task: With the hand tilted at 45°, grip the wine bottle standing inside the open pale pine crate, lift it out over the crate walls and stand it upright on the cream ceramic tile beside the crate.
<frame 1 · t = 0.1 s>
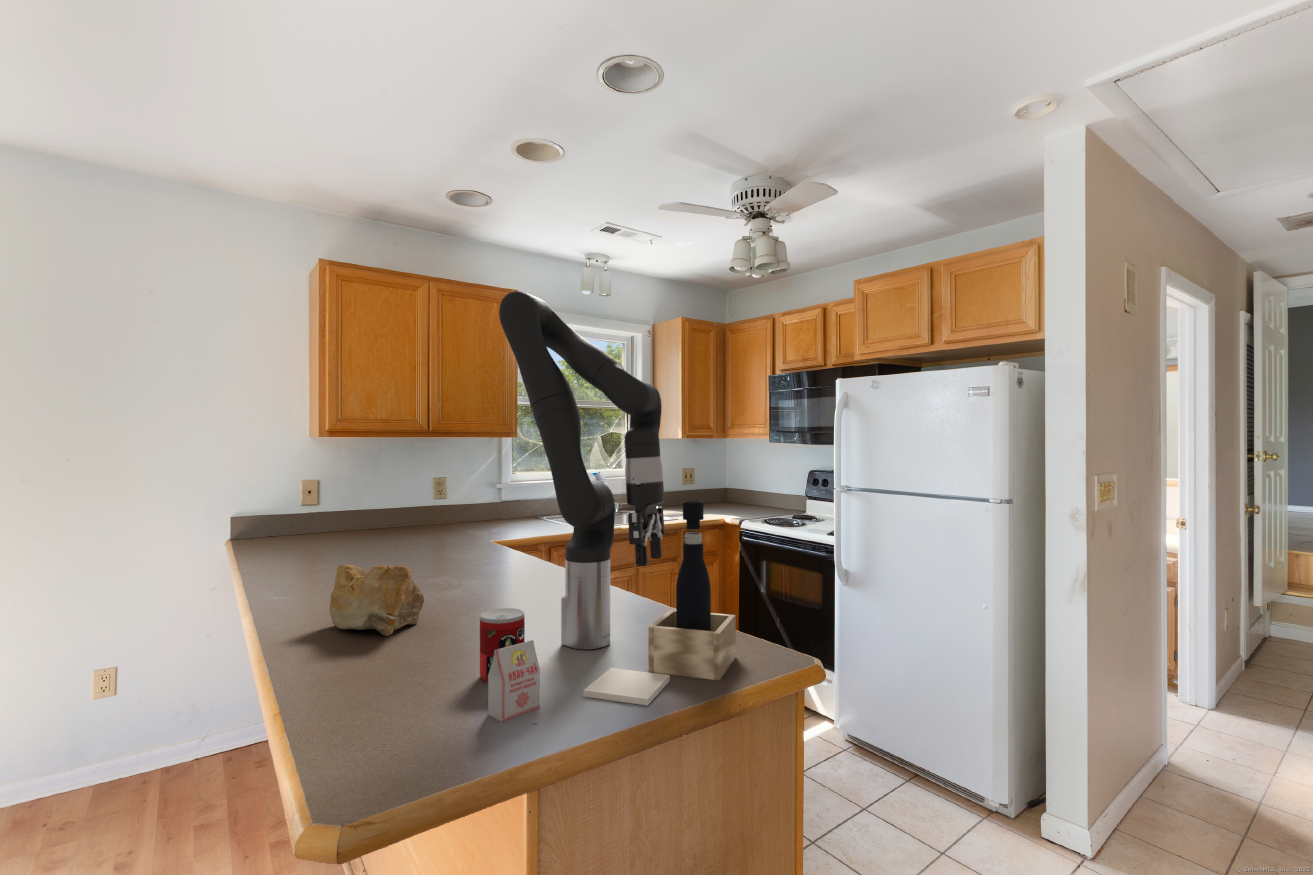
hand: (649, 561, 125), 17 cm above the counter, tool pointing down, fingers open, 8 cm apart
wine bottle: (693, 665, 117), resting in pine crate
pine crate: (693, 664, 117), on the counter
cream tile: (628, 688, 105), on the counter
rough brown rock: (386, 628, 142), on the counter
white paper bag: (514, 712, 96), on the counter
canned food: (502, 677, 111), on the counter
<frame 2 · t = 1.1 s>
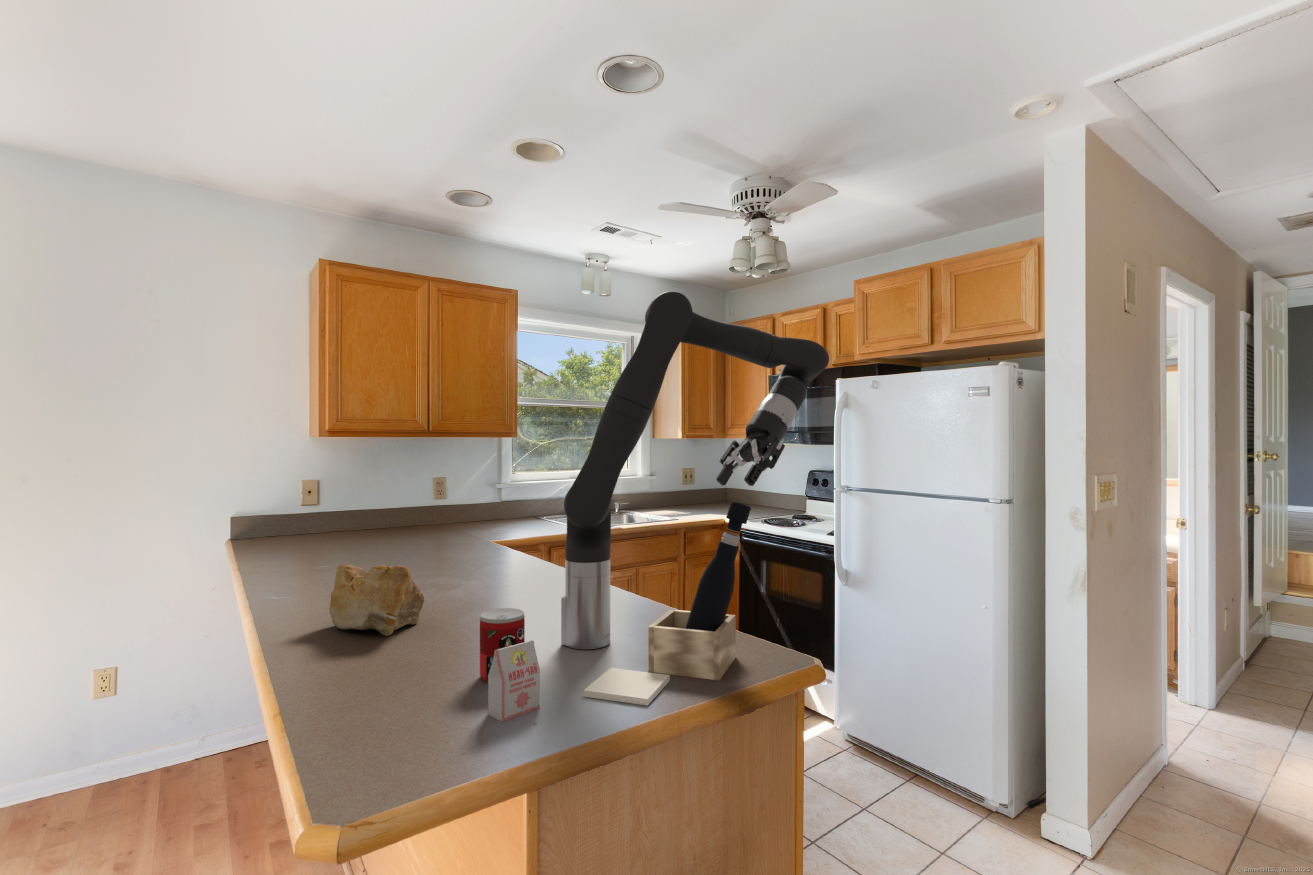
hand: (733, 483, 123), 33 cm above the counter, tool tilted 40°, fingers open, 8 cm apart
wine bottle: (693, 660, 117), point 1 cm above the counter, touching pine crate
everything else where it was.
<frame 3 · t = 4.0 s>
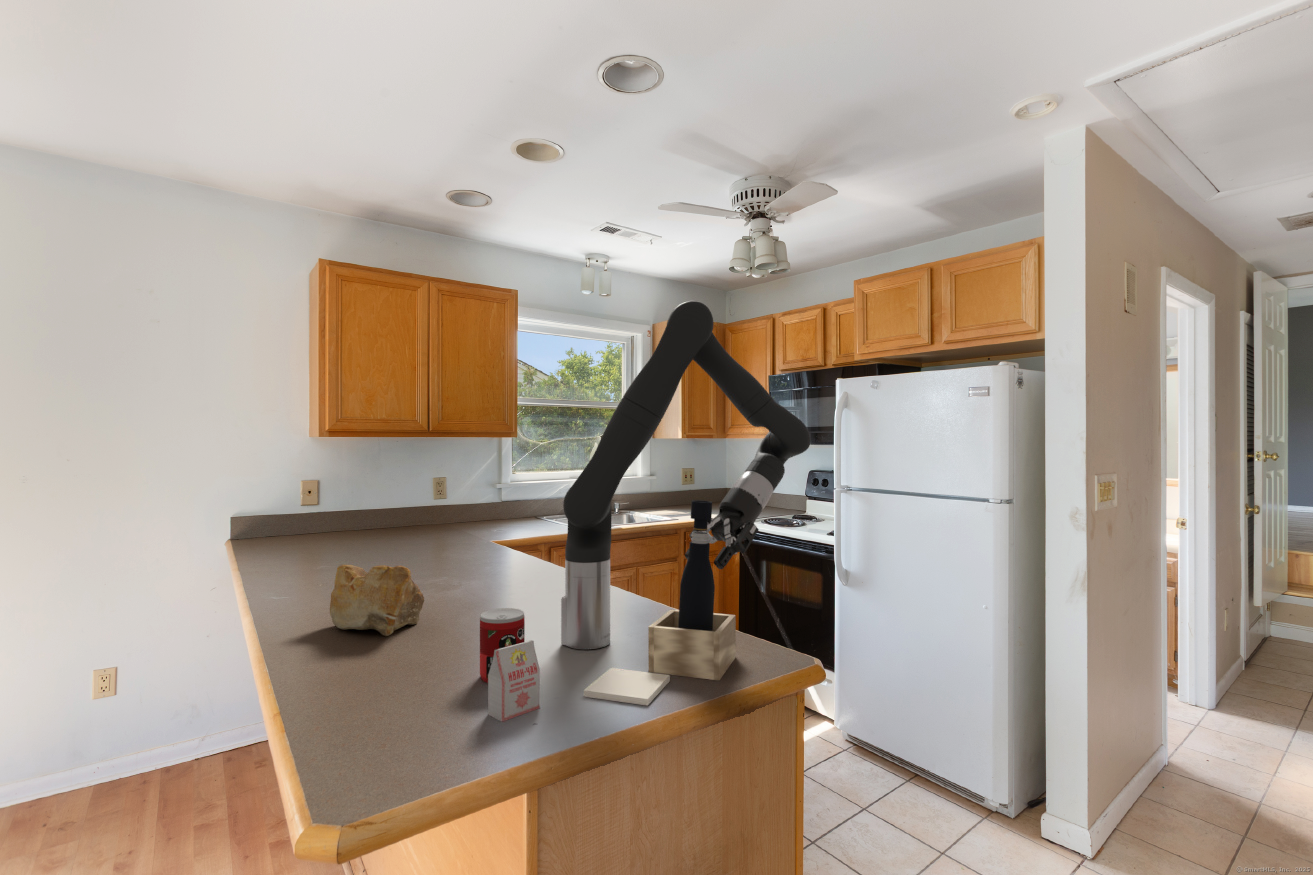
hand: (702, 562, 118), 18 cm above the counter, tool tilted 45°, fingers open, 8 cm apart
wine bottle: (693, 664, 117), resting in pine crate
everything else where it was.
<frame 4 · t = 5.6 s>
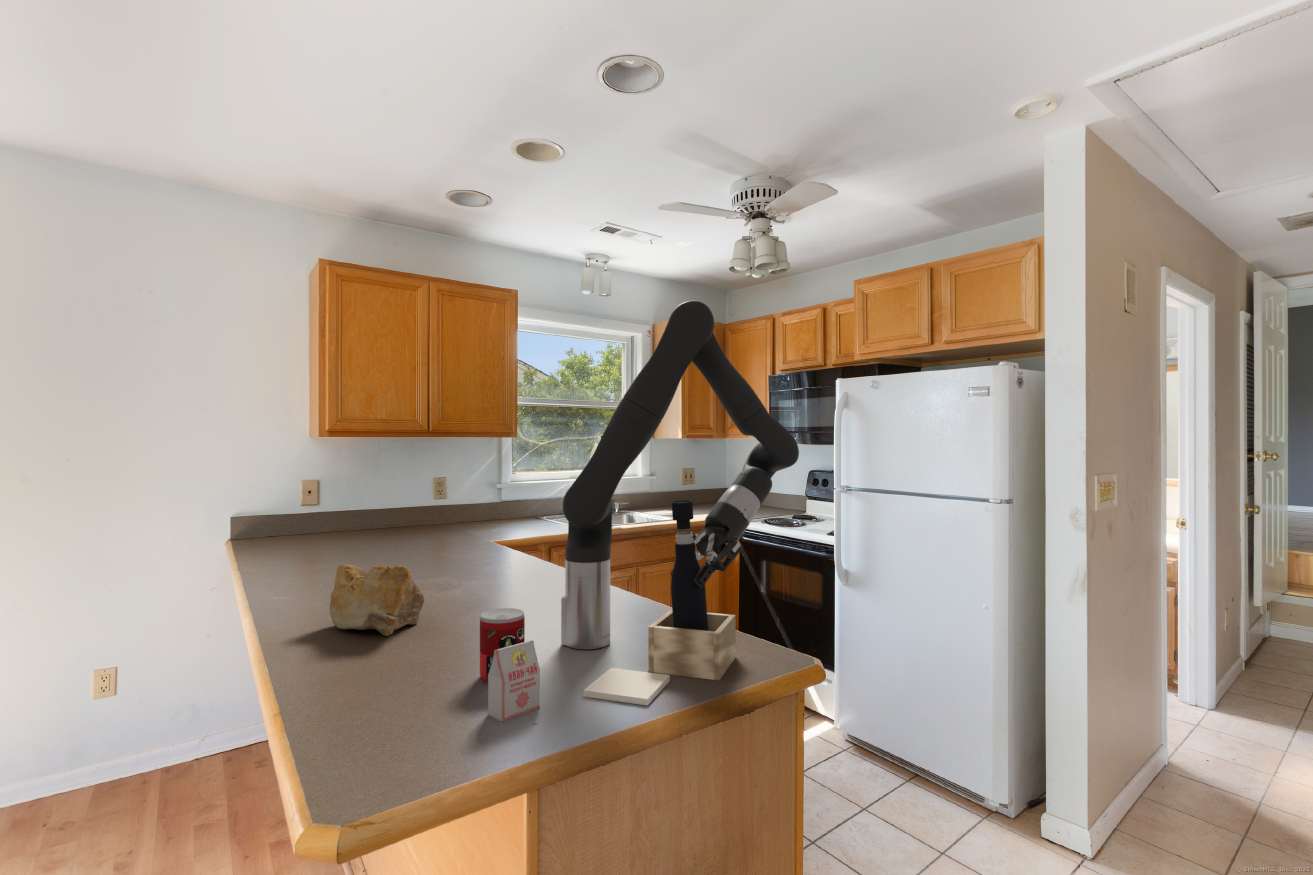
hand: (685, 581, 116), 16 cm above the counter, tool tilted 45°, fingers closed on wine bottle, 6 cm apart
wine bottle: (693, 663, 117), resting in pine crate, touching gripper
everything else where it was.
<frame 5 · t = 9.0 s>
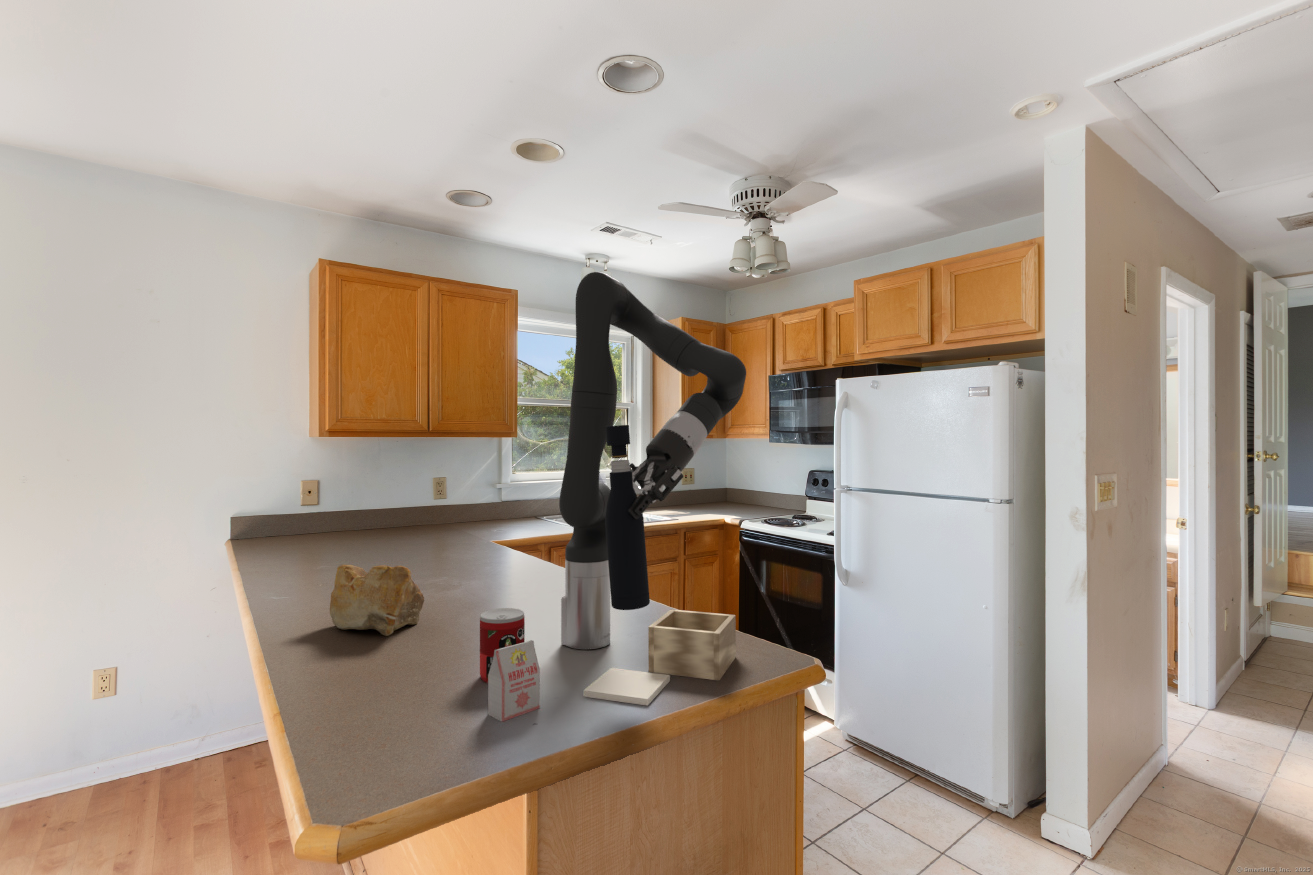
hand: (621, 513, 105), 29 cm above the counter, tool tilted 45°, fingers closed on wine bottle, 6 cm apart
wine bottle: (630, 605, 105), point 14 cm above the counter, touching gripper
everything else where it was.
when the fingers open (17 cm above the counter, at t = 12.4 s): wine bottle stays where it is, resting on cream tile.
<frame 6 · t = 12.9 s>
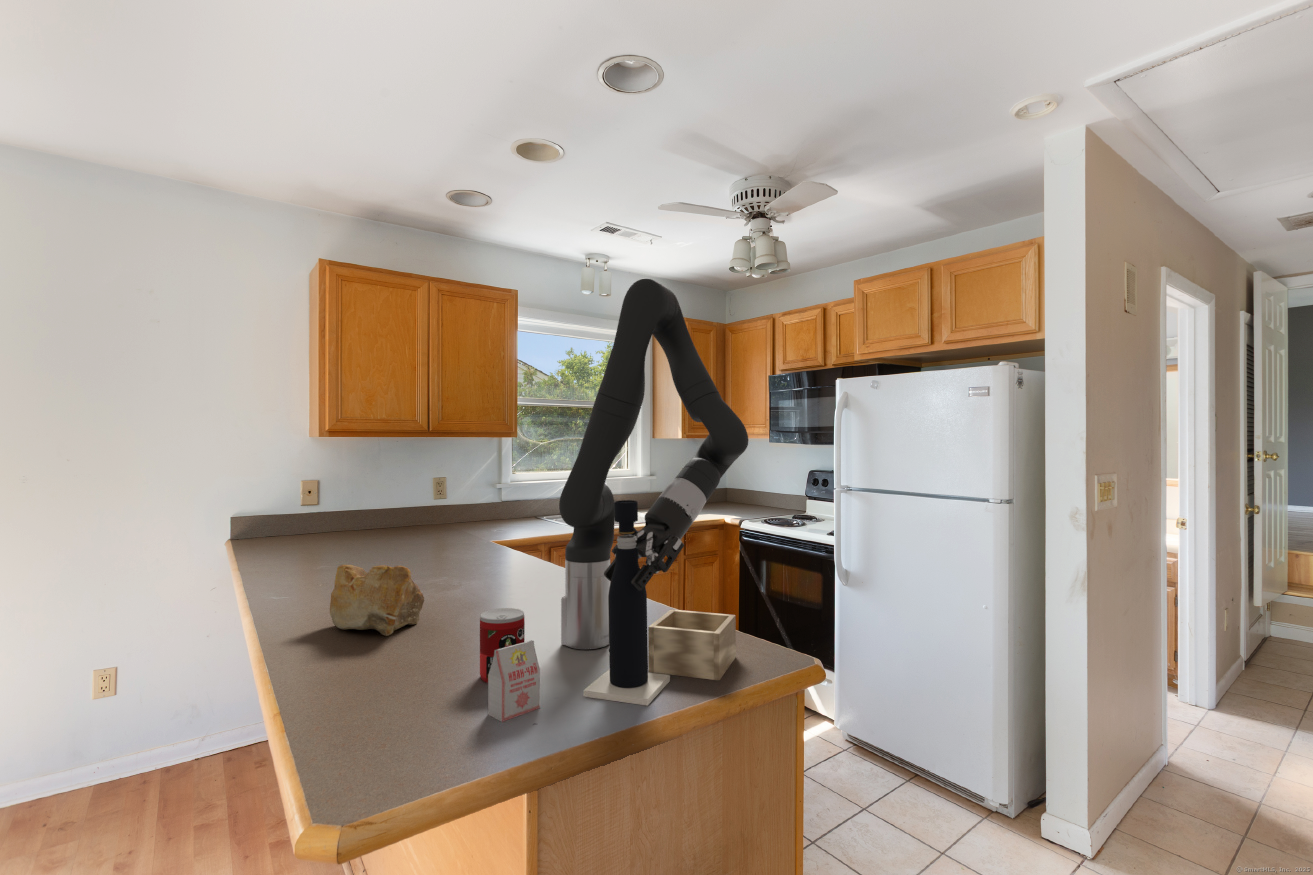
hand: (621, 582, 104), 18 cm above the counter, tool tilted 45°, fingers open, 8 cm apart
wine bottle: (629, 681, 105), point 1 cm above the counter, touching cream tile
everything else where it was.
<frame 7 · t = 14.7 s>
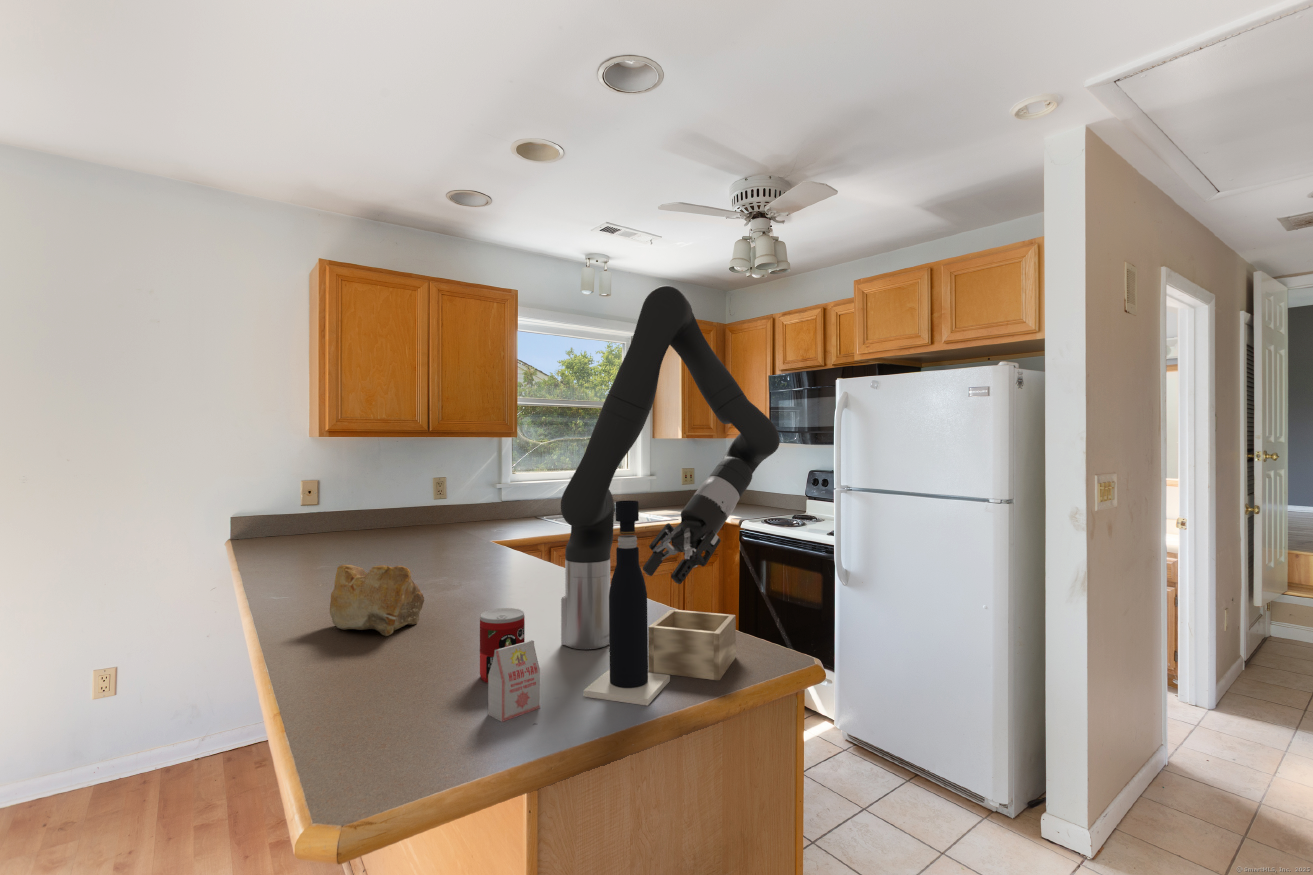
hand: (660, 576, 109), 18 cm above the counter, tool tilted 45°, fingers open, 8 cm apart
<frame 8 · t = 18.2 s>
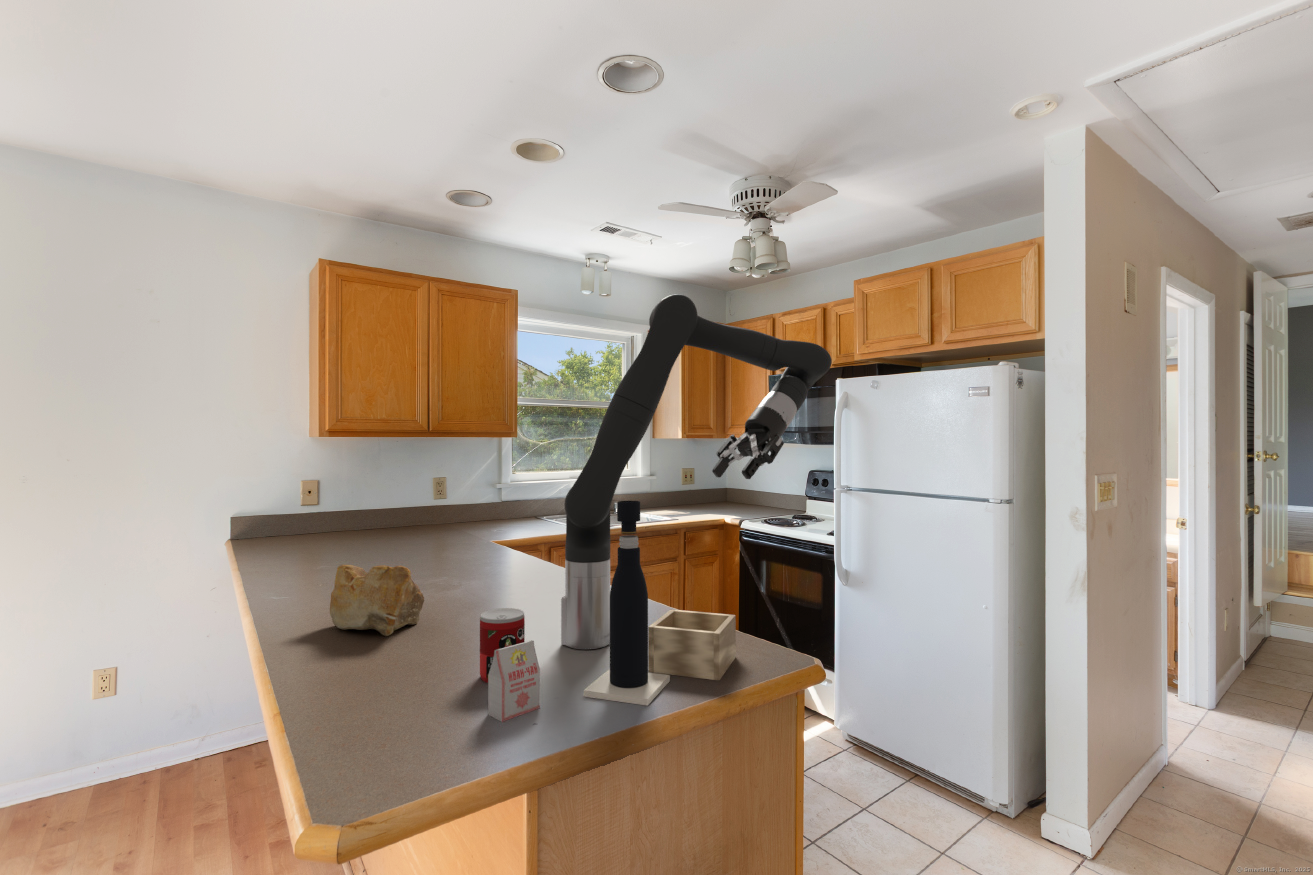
hand: (730, 475, 123), 35 cm above the counter, tool tilted 45°, fingers open, 8 cm apart
nothing on the counter moved.
at the end: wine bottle inside the target area on the cream tile (0.5 cm from its centre), point 0.8 cm above the cream tile's base; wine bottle tilted 0°; the gripper is holding nothing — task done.
